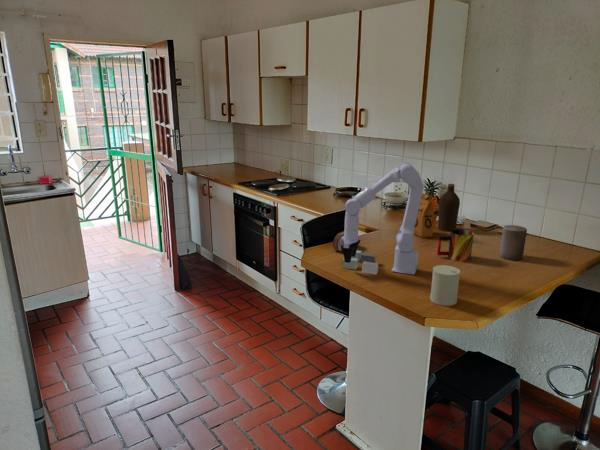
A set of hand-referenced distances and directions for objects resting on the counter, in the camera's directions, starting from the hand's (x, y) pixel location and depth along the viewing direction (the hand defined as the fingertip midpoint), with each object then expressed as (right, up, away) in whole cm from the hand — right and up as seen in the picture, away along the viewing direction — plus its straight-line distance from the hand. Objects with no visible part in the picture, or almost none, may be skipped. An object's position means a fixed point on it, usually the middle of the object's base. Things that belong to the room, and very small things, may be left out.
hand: (350, 259), depth 183 cm
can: (+30, -12, -28) cm, 43 cm away
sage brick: (0, -4, +1) cm, 4 cm away
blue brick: (+3, -1, +10) cm, 11 cm away
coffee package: (+42, +9, +46) cm, 63 cm away
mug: (+49, -1, +12) cm, 50 cm away
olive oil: (+60, +12, +56) cm, 82 cm away
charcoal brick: (+9, -2, +6) cm, 11 cm away
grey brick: (+8, -5, -4) cm, 10 cm away
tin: (0, +3, +24) cm, 24 cm away
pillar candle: (+75, 0, +15) cm, 76 cm away
